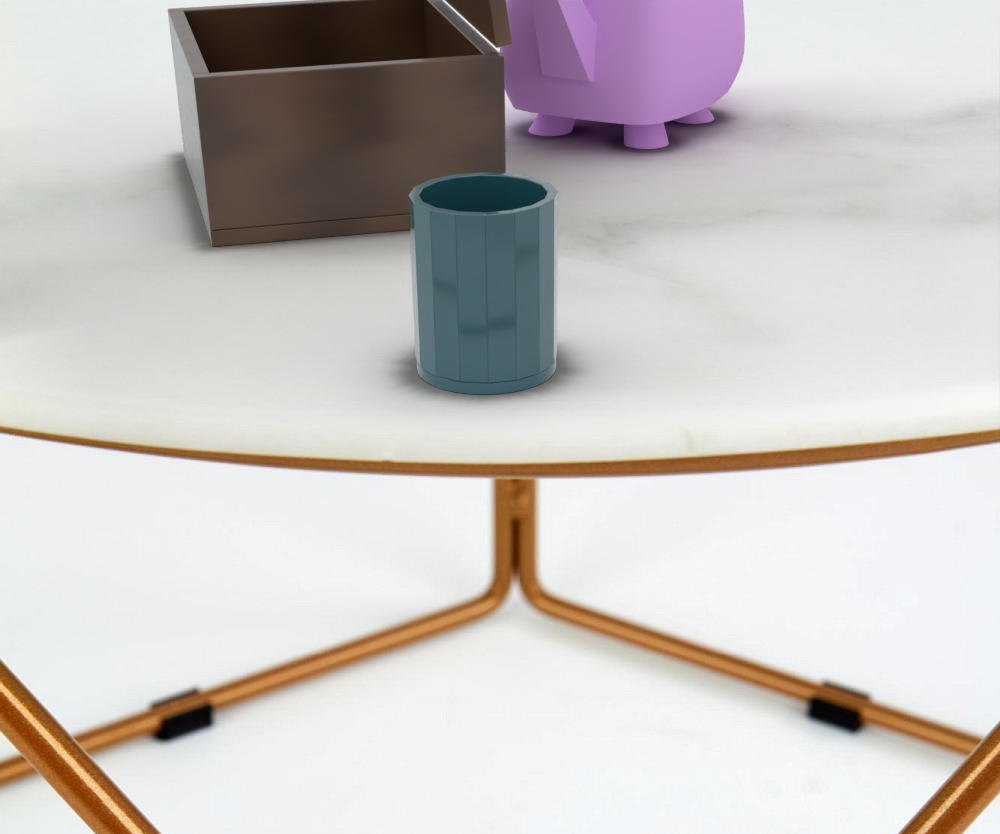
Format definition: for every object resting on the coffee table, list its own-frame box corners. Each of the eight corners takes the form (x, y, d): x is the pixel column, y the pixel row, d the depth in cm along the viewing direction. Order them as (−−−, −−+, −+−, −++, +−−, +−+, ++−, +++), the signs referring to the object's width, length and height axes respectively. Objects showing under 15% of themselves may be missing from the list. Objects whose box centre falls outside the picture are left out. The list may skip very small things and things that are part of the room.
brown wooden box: (211, 247, 83) (193, 77, 78) (184, 157, 96) (167, 8, 92) (506, 222, 85) (504, 56, 81) (439, 138, 99) (434, -8, 94)
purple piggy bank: (603, 78, 110) (607, -143, 103) (784, 99, 105) (801, -133, 98) (439, 153, 96) (430, -98, 89) (639, 182, 91) (646, -83, 83)
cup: (432, 401, 66) (425, 220, 62) (405, 350, 71) (397, 178, 67) (571, 386, 67) (573, 207, 63) (536, 337, 72) (536, 167, 68)
